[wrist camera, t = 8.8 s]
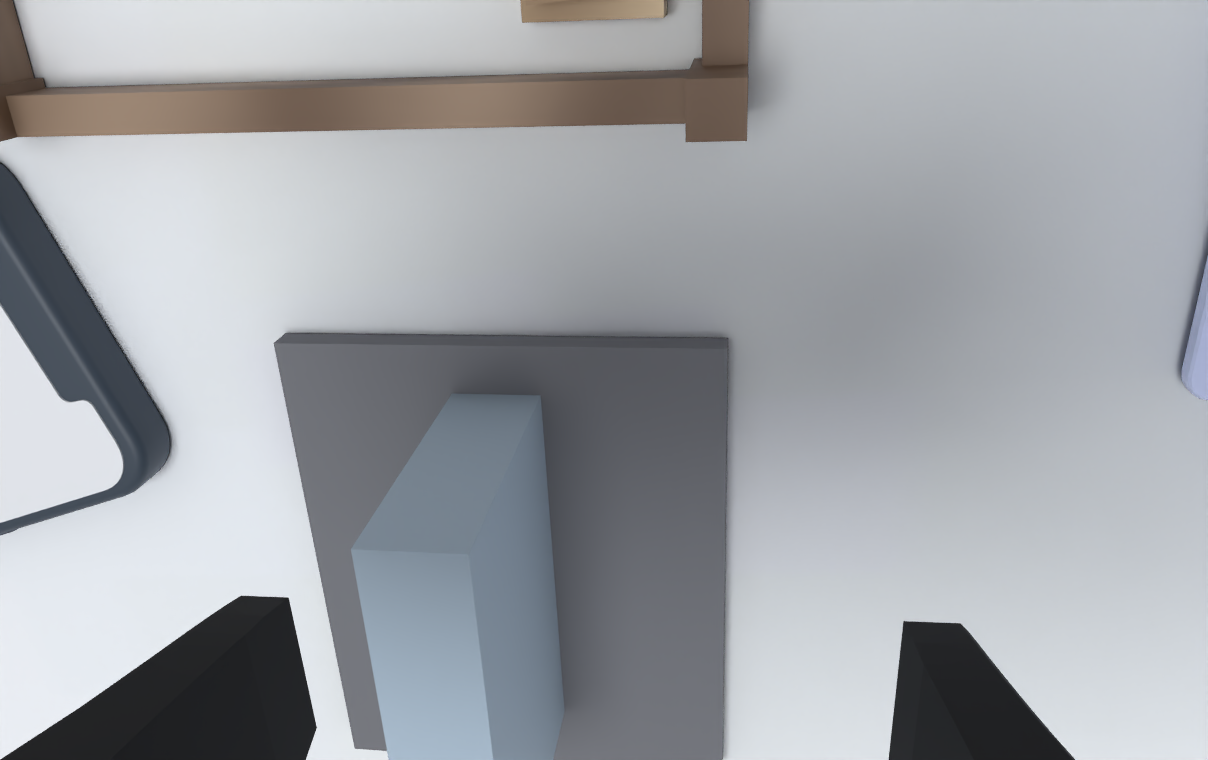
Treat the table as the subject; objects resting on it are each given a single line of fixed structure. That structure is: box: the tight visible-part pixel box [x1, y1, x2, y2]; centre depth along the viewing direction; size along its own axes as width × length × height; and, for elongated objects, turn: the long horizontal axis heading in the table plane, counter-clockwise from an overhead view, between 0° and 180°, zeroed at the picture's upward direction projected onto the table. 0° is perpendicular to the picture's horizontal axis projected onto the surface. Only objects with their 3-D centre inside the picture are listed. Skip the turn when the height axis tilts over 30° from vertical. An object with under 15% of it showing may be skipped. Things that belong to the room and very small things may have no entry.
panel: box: [351, 394, 565, 760], centre depth 20 cm, size 2×9×6 cm, turn 2°
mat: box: [274, 333, 728, 760], centre depth 23 cm, size 10×12×1 cm
